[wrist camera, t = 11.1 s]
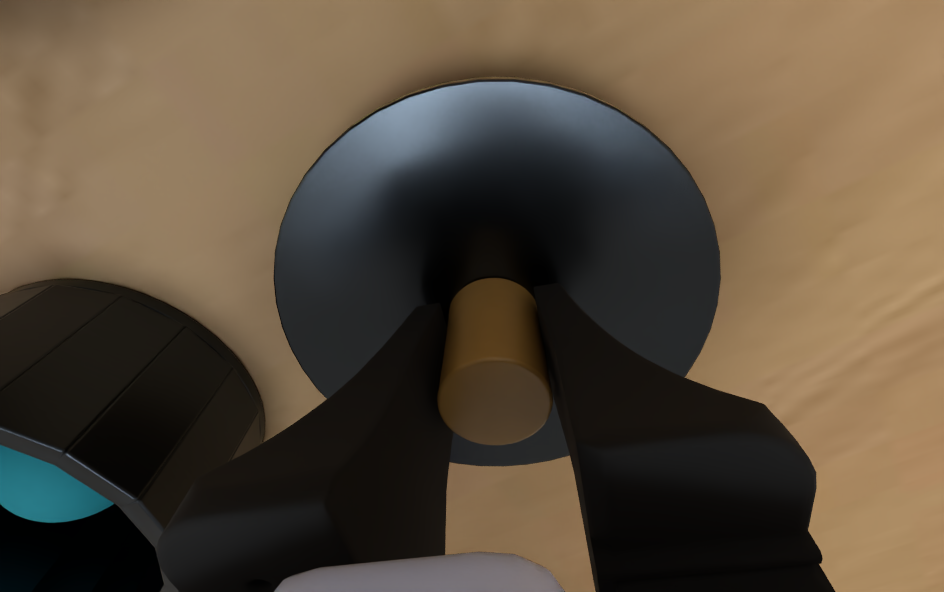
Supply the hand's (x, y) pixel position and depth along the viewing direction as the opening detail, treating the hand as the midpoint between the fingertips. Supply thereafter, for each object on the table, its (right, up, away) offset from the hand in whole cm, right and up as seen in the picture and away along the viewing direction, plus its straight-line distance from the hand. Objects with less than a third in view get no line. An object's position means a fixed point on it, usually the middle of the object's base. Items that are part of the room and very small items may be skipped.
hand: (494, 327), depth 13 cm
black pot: (-14, -3, +6) cm, 16 cm away
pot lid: (0, 0, +1) cm, 1 cm away
